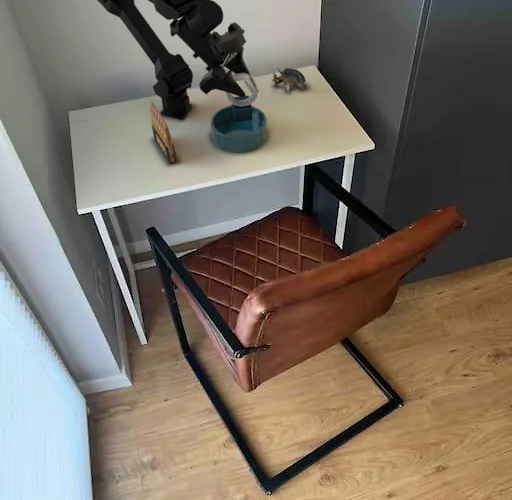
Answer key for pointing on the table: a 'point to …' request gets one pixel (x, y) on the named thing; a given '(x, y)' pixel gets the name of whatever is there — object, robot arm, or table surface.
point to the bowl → (238, 130)
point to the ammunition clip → (162, 134)
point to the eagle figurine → (290, 78)
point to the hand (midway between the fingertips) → (248, 88)
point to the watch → (243, 98)
